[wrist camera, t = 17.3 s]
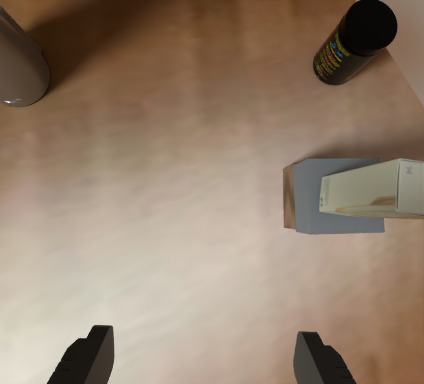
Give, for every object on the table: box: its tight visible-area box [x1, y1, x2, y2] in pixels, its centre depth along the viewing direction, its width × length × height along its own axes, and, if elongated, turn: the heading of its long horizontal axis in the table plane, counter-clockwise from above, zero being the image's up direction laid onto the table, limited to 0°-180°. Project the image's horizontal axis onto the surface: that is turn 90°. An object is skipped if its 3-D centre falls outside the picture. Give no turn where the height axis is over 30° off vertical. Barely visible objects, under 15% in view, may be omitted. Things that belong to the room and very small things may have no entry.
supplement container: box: [313, 0, 397, 85], centre depth 41 cm, size 7×7×10 cm
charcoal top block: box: [293, 158, 385, 234], centre depth 37 cm, size 9×9×5 cm
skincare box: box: [319, 158, 424, 219], centre depth 28 cm, size 6×4×12 cm
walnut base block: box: [283, 163, 298, 229], centre depth 42 cm, size 9×9×5 cm
